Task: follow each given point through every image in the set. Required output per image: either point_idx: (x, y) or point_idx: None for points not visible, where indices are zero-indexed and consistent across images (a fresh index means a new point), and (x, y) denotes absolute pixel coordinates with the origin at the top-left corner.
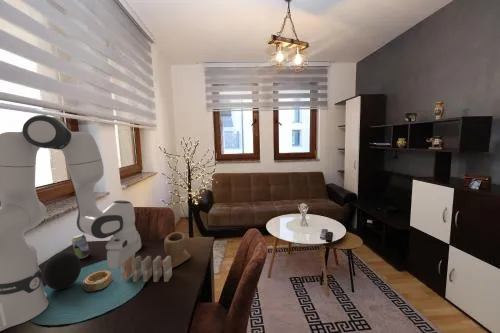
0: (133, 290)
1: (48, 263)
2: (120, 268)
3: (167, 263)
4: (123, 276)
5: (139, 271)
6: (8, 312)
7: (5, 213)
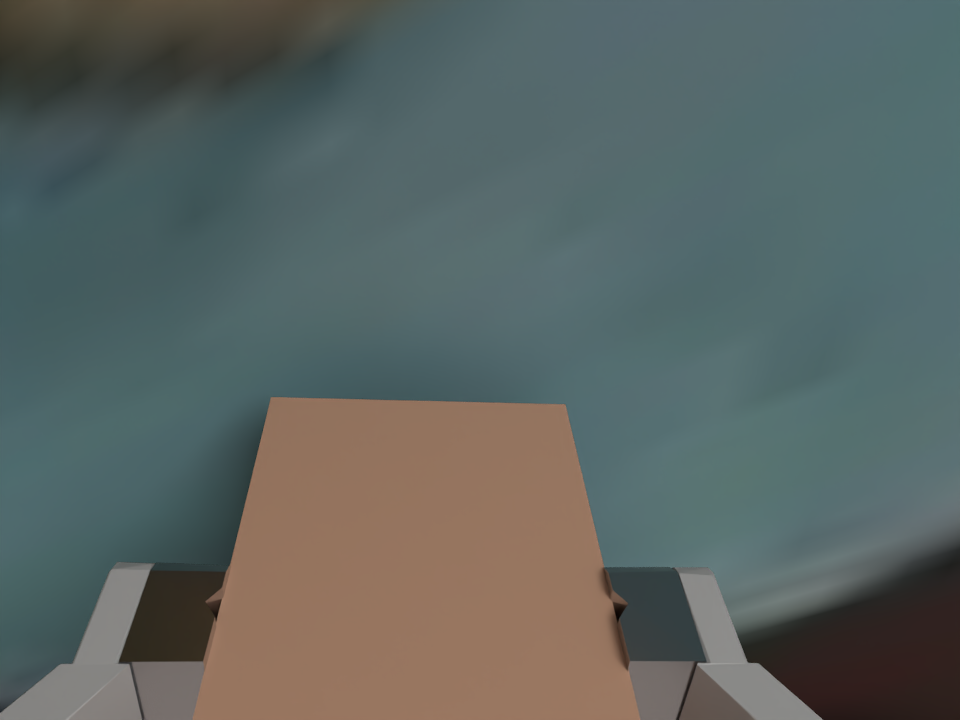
0: (21, 635)
1: None
2: (62, 686)
3: None
4: (261, 445)
5: None
6: None
7: None
